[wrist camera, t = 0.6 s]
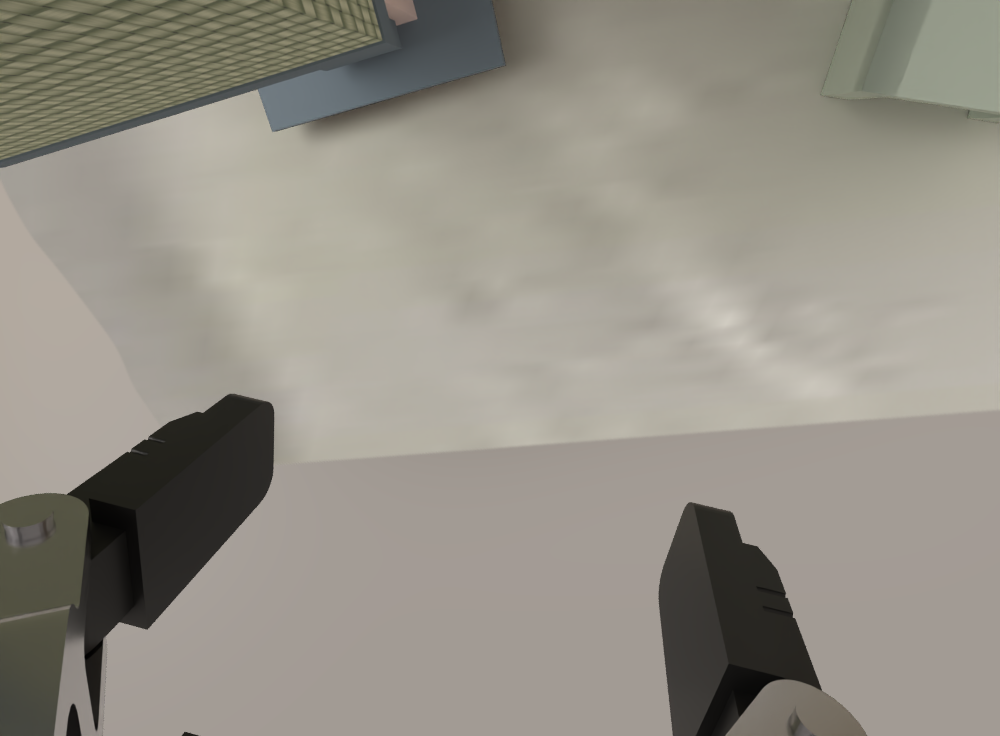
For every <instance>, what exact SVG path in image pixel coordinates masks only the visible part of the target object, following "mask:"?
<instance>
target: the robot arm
mask: <svg viewBox="0 0 1000 736" xmlns="http://www.w3.org/2000/svg"><path fill="white" fill-rule="evenodd" d="M273 462H274V409H273V406H272V404H271V403H270V402H266V401H262V400H258V399H254V398H249V397H245V396H241V395H237V394H229V395H227V396H225V397H224V398H223V399H221V400H220V401H219V402H217V403H216V404H215V405H213V406H212V407H211V408H209V409H208V410H207V411H205V412H204V413H201V412H195V413H193V414H190V415H187V416H184V417H182V418H179V419H176V420H173V421H171V422H169V423H167V424H166V425H164V426H163V427H162V428H160V429H159V430H157V431H156V432H155V433H153V434H152V435H150V436H149V438H148V440H143V441H142V442H140V443H139V444H138V445H136V446H135V447H133V448H132V450H131V452H130V453H129V452H126V453H125V454H123V455H122V456H121V457H119V458H118V459H116V460H115V461H113V462H112V463H111V464H109V465H108V466H106V467H105V468H104V469H102V470H101V471H99V472H98V473H96V474H95V475H94V476H92V477H91V478H89V479H88V480H87V481H85V482H84V483H82V484H81V485H80V486H78V487H77V488H75V489H74V490H72V491H71V492H70V493H68V494H67V495H65V494H57V493H44V494H35V495H29V496H24V497H20V498H16V499H13V500H10V501H7V502H4V503H2V504H0V736H103V722H104V703H105V683H106V664H107V641H106V635H107V634H108V633H109V632H110V631H111V630H112V629H113V628H114V627H115V626H116V625H117V624H118V623H119V622H122V623H125V624H129V625H133V626H136V627H140V628H144V629H148V628H149V627H150V626H151V625H152V624H153V623H154V622H155V620H156V619H157V618H158V617H159V616H160V615H161V614H162V613H163V611H164V610H165V609H166V608H167V607H168V606H169V605H170V604H171V602H172V601H173V600H174V599H175V598H176V597H177V596H178V594H179V593H180V592H181V591H182V590H183V589H184V588H185V587H186V586H187V585H188V583H189V582H190V581H191V580H192V579H193V578H194V577H195V576H196V574H197V573H198V572H199V571H200V570H201V569H202V568H203V567H204V565H205V564H206V563H207V562H208V561H209V560H210V559H211V557H212V556H213V555H214V554H215V553H216V552H217V551H218V550H219V549H220V547H221V546H222V545H223V544H224V543H225V542H226V541H227V540H228V538H229V537H230V536H231V535H232V534H233V533H234V532H235V530H236V529H237V528H238V527H239V526H240V525H241V524H242V523H243V522H244V520H245V519H246V518H247V517H248V516H249V515H250V514H251V512H252V511H253V510H254V509H255V508H256V507H257V506H258V505H259V504H260V502H261V501H262V500H263V498H264V497H265V495H266V493H267V491H268V489H269V486H270V483H271V480H272V476H273ZM785 594H786V592H785V590H784V587H783V584H782V582H781V579H780V577H779V574H778V571H777V569H776V568H775V567H774V566H773V565H772V563H771V562H770V561H769V560H768V559H767V557H766V556H765V555H764V554H763V552H762V551H761V550H760V549H759V548H758V547H757V546H753V545H749V544H745V543H742V540H741V537H740V534H739V530H738V527H737V524H736V520H735V517H734V515H733V513H731V512H730V511H726V510H722V509H717V508H713V507H709V506H704V505H700V504H696V503H692V502H690V503H688V504H687V505H686V507H685V509H684V511H683V514H682V516H681V519H680V522H679V525H678V527H677V530H676V533H675V536H674V538H673V542H672V544H671V547H670V550H669V552H668V555H667V558H666V561H665V564H664V566H663V570H662V574H661V578H660V585H659V607H660V618H661V627H662V637H663V646H664V655H665V665H666V675H667V683H668V693H669V702H670V712H671V722H672V731H673V736H867V735H866V733H865V731H864V730H863V728H862V727H861V725H860V724H859V723H858V721H857V720H856V719H855V718H854V717H853V716H852V714H851V713H850V712H848V710H847V709H846V708H844V707H843V706H842V705H841V704H840V703H839V702H837V701H836V700H835V699H834V698H832V697H831V696H829V695H828V694H826V693H824V692H823V691H822V689H821V686H820V684H819V681H818V678H817V676H816V673H815V671H814V668H813V665H812V662H811V660H810V657H809V655H808V652H807V649H806V646H805V644H804V641H803V638H802V635H801V633H800V630H799V627H798V625H797V622H796V619H795V618H793V611H792V609H791V606H790V603H789V601H788V598H785ZM182 736H198V735H194V734H191V733H187V732H184V734H183V735H182Z"/></svg>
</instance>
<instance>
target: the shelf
mask: <svg viewBox="0 0 1000 736" xmlns="http://www.w3.org/2000/svg"><path fill="white" fill-rule="evenodd" d="M821 95H822V96H828V97H834V98H841V99H847V100H854V99H867V98H880V97H887V98H893V99H900V100H906V101H913V102H919V103H926V104H932V105H939V106H945V107H952V108H958V109H965V110H970V112H969V114H968V117H967V118H970V119H976V120H982V121H989V122H995V123H1000V0H852V2H851V5H850V8H849V11H848V14H847V17H846V20H845V23H844V26H843V29H842V32H841V35H840V38H839V41H838V44H837V47H836V50H835V53H834V56H833V59H832V62H831V65H830V68H829V71H828V75H827V78H826V81H825V84H824V87H823V90H822V93H821Z"/></svg>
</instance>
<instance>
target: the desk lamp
mask: <svg viewBox="0 0 1000 736" xmlns="http://www.w3.org/2000/svg"><path fill="white" fill-rule="evenodd" d="M502 66H506V64H505V59H504V55H503V50H502V45H501V41H500V36H499V31H498V27H497V22H496V17H495V13H494V8H493V3H492V0H0V168H3V167H7V166H10V165H14V164H17V163H20V162H23V161H27V160H30V159H33V158H36V157H40V156H43V155H46V154H49V153H53V152H56V151H59V150H62V149H65V148H69V147H72V146H75V145H78V144H82V143H85V142H88V141H91V140H95V139H98V138H101V137H104V136H108V135H111V134H114V133H117V132H120V131H124V130H127V129H130V128H133V127H137V126H140V125H143V124H146V123H150V122H153V121H156V120H159V119H163V118H166V117H169V116H172V115H176V114H179V113H182V112H185V111H188V110H192V109H195V108H198V107H201V106H205V105H208V104H211V103H214V102H218V101H221V100H224V99H227V98H231V97H234V96H237V95H240V94H244V93H247V92H250V91H253V90H256V89H258V92H259V94H260V97H261V100H262V103H263V106H264V109H265V112H266V115H267V118H268V121H269V123H270V126H271V129H272V132H274V131H280V130H283V129H287V128H290V127H294V126H297V125H301V124H304V123H308V122H311V121H314V120H318V119H321V118H325V117H328V116H332V115H335V114H339V113H342V112H346V111H349V110H353V109H356V108H360V107H363V106H367V105H370V104H374V103H377V102H381V101H384V100H388V99H391V98H394V97H398V96H401V95H405V94H408V93H412V92H415V91H419V90H422V89H426V88H429V87H433V86H436V85H440V84H443V83H447V82H450V81H454V80H457V79H461V78H464V77H468V76H471V75H474V74H478V73H481V72H485V71H488V70H492V69H495V68H499V67H502Z"/></svg>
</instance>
